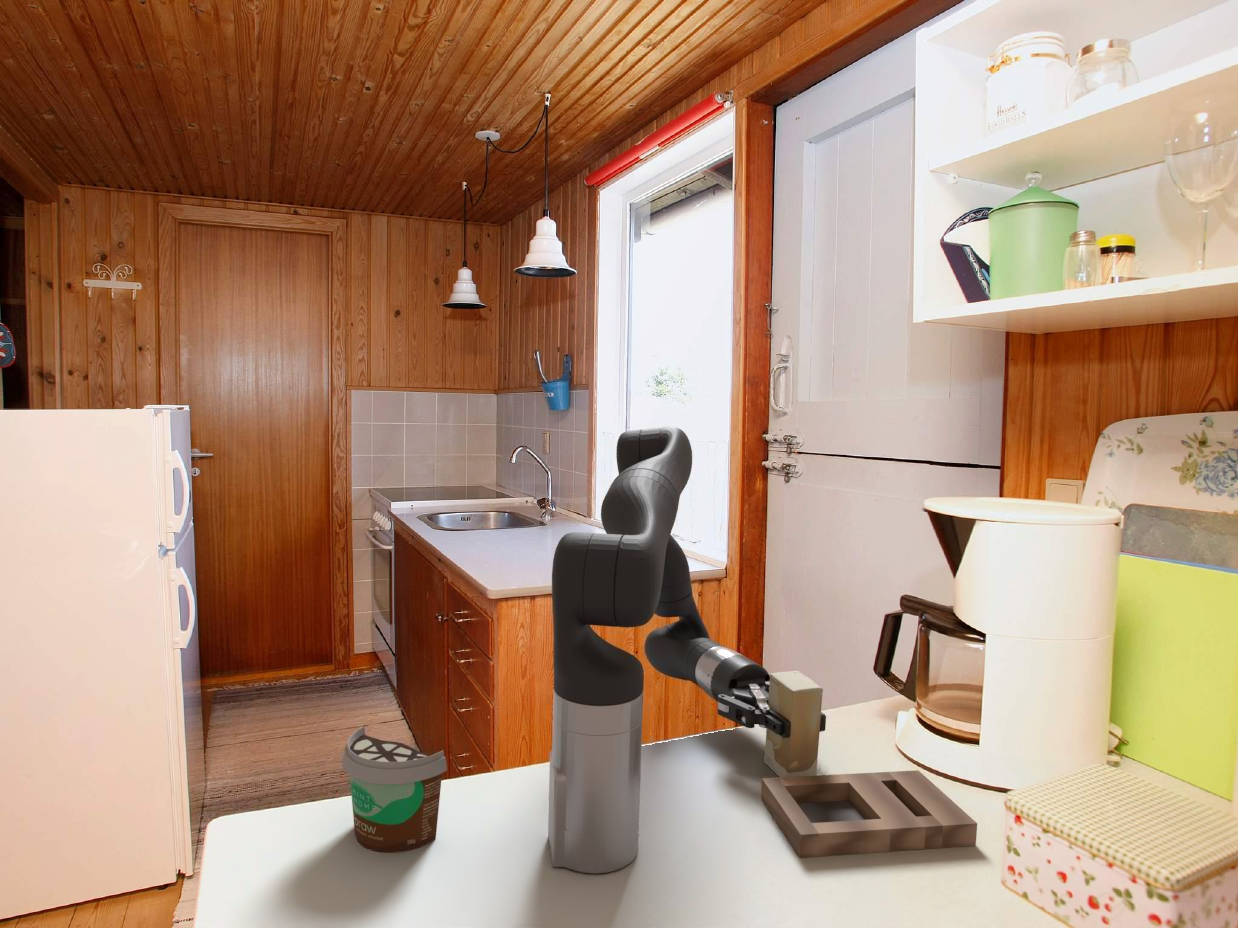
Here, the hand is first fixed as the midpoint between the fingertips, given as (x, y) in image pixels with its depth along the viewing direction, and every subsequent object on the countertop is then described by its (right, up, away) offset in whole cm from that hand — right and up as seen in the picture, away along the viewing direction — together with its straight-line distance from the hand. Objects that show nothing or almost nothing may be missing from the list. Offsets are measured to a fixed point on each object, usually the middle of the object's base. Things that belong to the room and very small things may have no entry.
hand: (805, 726), depth 98 cm
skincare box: (-1, -7, +3) cm, 8 cm away
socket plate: (+5, -8, -8) cm, 12 cm away
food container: (-48, -7, -15) cm, 51 cm away
